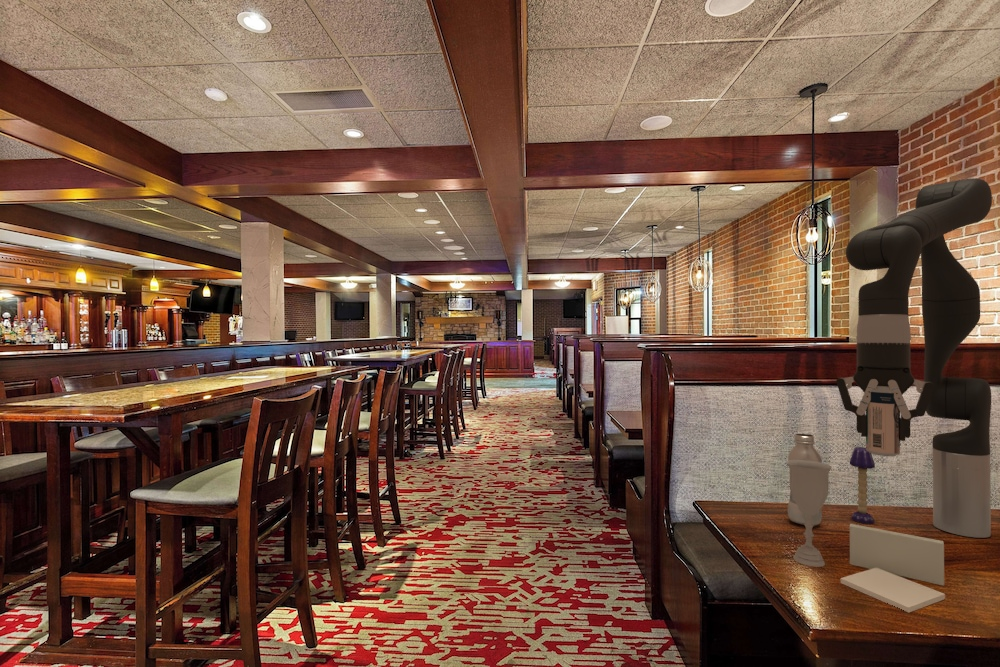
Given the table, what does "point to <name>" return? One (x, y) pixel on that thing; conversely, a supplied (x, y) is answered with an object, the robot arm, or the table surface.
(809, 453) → the plastic bottle
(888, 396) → the beer can
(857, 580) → the tile
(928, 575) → the partition
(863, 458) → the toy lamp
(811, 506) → the chalice
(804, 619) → the table surface
